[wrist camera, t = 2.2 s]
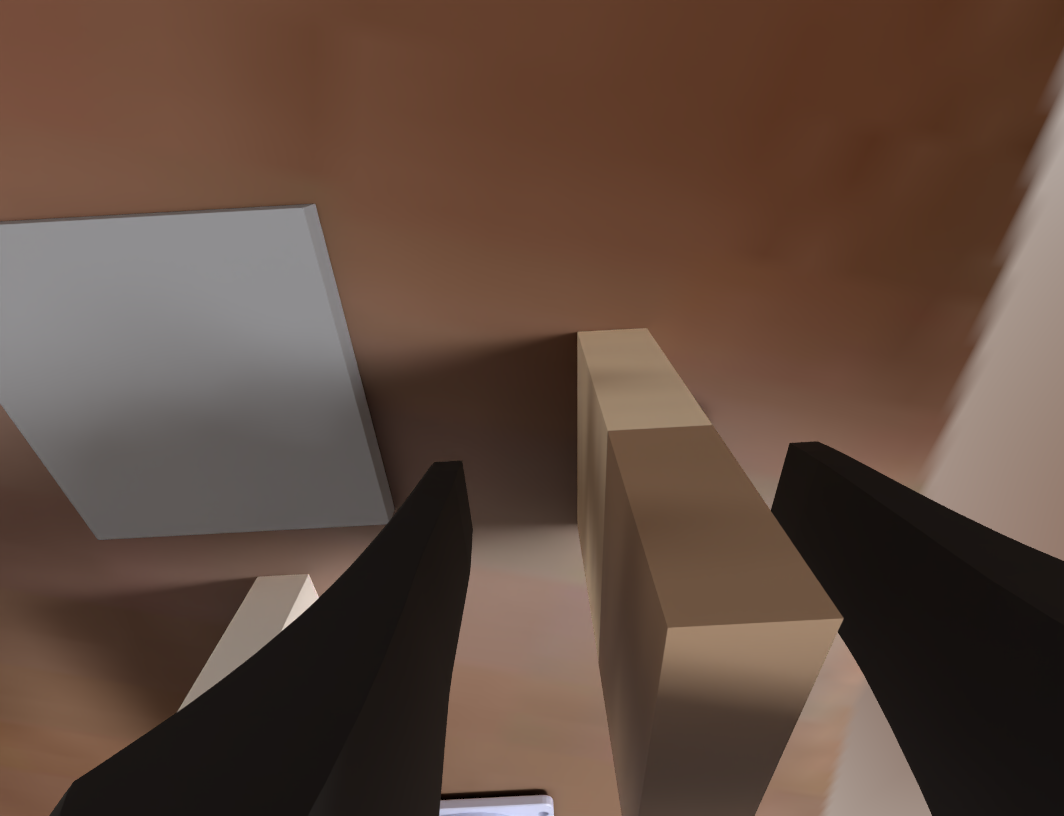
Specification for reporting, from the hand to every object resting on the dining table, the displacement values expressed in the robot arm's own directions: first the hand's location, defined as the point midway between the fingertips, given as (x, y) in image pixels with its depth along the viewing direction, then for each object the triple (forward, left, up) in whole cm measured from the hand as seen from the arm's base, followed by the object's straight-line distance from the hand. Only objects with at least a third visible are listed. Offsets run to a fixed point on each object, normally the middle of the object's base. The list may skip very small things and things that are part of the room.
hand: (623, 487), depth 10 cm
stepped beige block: (0, 0, -2) cm, 2 cm away
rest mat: (+2, +10, -2) cm, 10 cm away
